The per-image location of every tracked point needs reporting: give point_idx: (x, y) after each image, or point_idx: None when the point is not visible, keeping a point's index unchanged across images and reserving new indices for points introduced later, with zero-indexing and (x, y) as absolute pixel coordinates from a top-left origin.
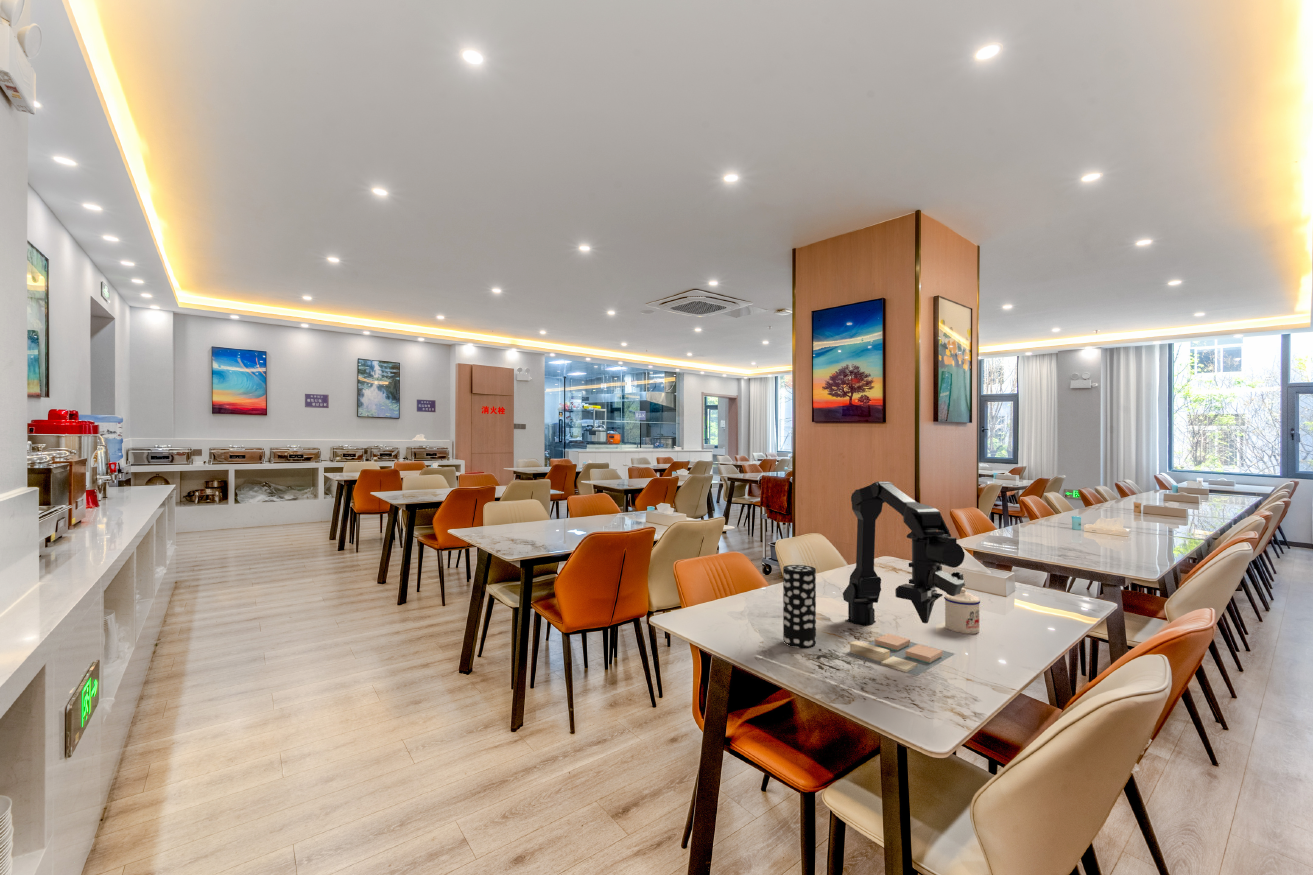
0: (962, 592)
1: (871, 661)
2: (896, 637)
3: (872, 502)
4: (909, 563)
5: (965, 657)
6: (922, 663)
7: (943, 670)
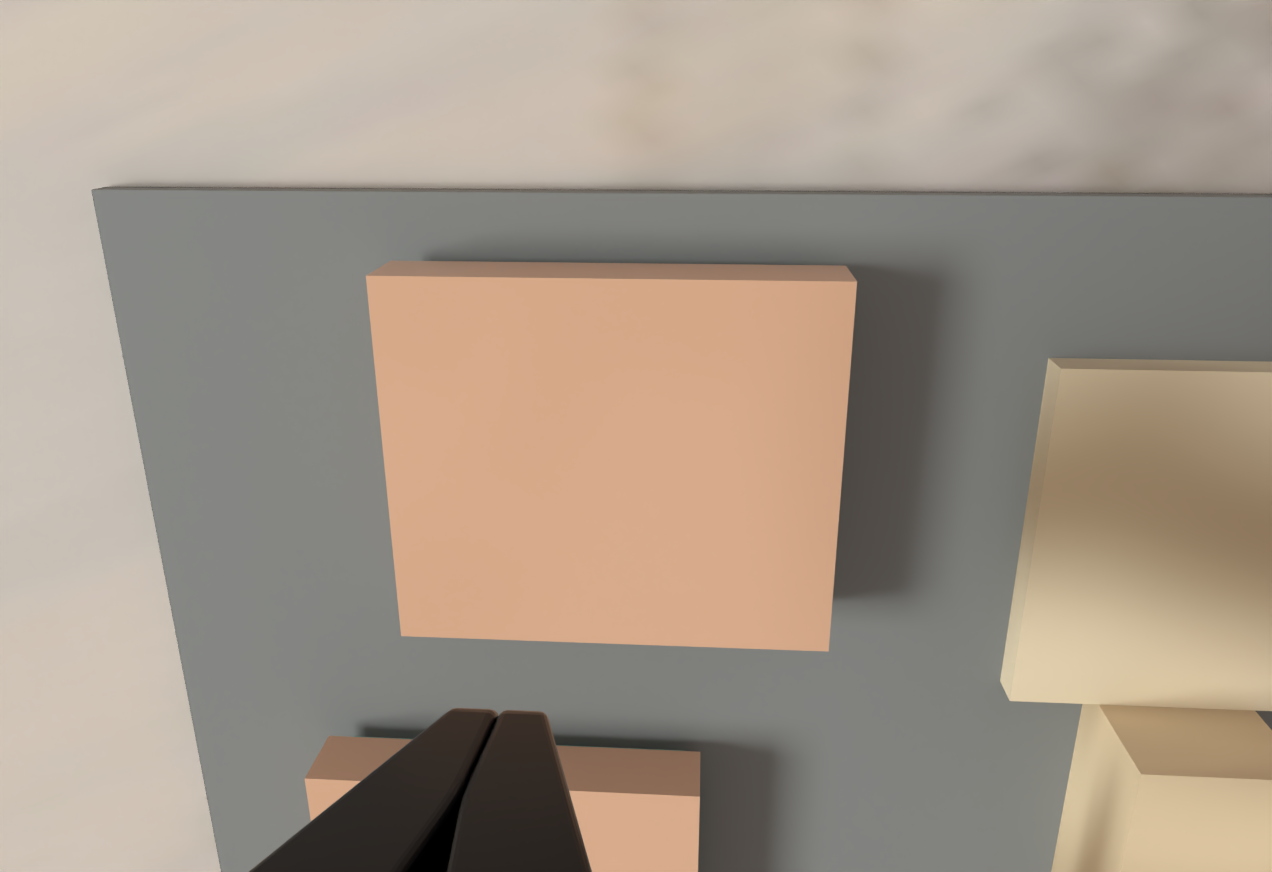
0: None
1: None
2: None
3: None
4: None
5: (53, 40)
6: (893, 349)
7: (870, 41)
